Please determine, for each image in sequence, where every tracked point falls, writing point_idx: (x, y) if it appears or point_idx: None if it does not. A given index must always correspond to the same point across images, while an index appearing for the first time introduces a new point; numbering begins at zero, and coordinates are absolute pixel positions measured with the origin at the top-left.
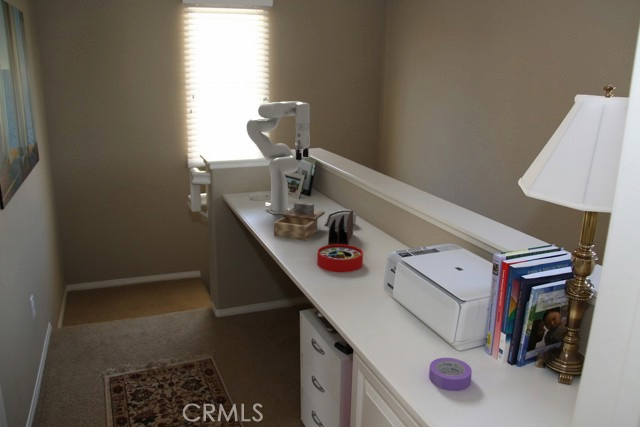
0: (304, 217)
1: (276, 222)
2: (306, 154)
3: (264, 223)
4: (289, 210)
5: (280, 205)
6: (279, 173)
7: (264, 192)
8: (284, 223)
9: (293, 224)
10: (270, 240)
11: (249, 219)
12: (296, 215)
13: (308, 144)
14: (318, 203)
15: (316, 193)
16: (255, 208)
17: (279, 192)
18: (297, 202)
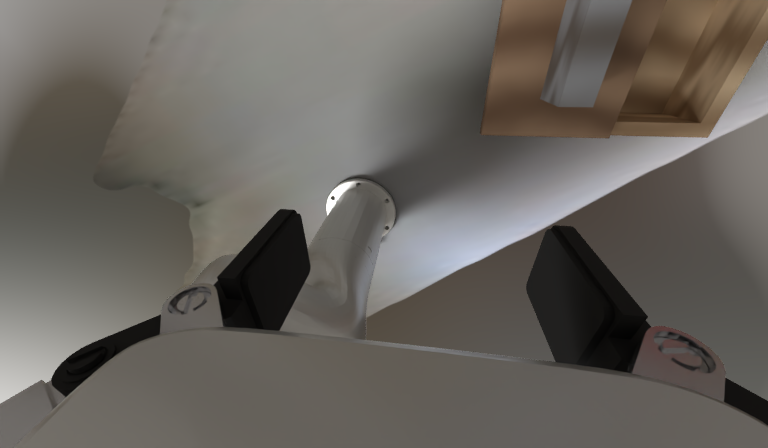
0: (664, 2)
1: (706, 126)
2: (287, 250)
3: (504, 206)
4: (534, 134)
5: (379, 212)
6: (361, 304)
7: None
8: (732, 83)
9: (763, 25)
10: (729, 112)
11: (473, 255)
12: (629, 63)
13: (247, 433)
14: (200, 126)
15: (109, 177)
16: None
17: (373, 243)
18: (569, 96)
